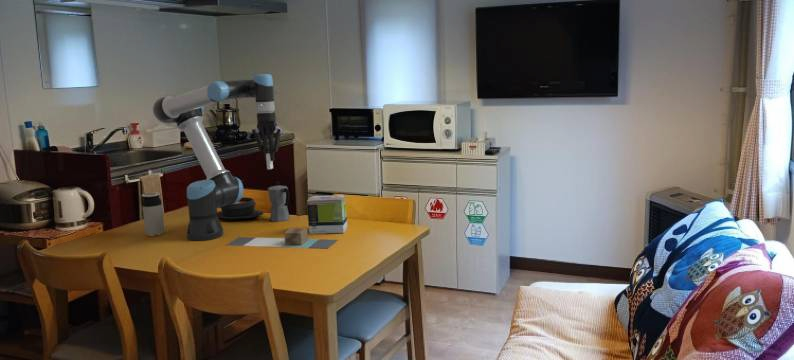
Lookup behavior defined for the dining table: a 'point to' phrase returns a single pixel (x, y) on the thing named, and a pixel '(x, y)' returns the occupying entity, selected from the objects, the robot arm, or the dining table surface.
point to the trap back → (240, 241)
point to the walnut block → (296, 236)
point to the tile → (266, 242)
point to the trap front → (323, 244)
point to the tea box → (327, 214)
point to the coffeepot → (279, 203)
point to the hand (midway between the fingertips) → (270, 168)
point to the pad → (305, 245)
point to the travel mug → (152, 214)
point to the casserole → (240, 210)
